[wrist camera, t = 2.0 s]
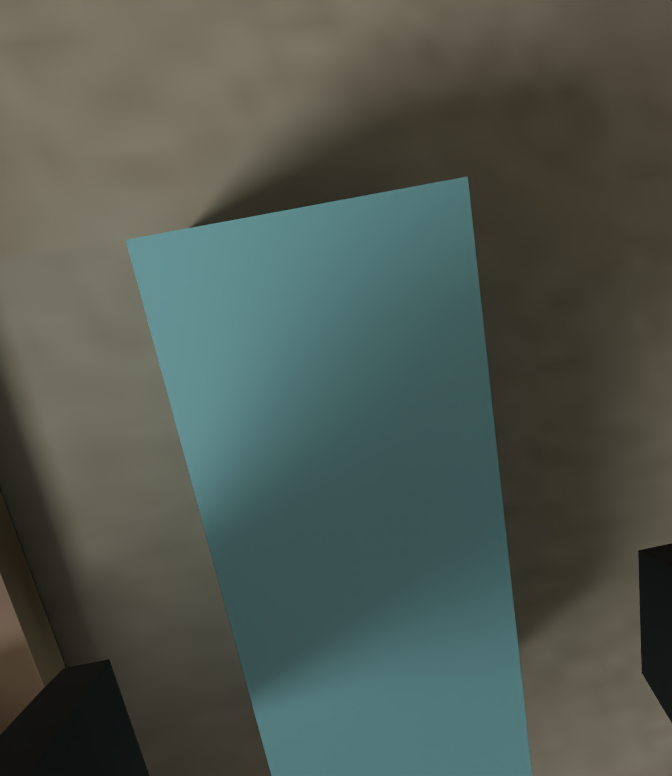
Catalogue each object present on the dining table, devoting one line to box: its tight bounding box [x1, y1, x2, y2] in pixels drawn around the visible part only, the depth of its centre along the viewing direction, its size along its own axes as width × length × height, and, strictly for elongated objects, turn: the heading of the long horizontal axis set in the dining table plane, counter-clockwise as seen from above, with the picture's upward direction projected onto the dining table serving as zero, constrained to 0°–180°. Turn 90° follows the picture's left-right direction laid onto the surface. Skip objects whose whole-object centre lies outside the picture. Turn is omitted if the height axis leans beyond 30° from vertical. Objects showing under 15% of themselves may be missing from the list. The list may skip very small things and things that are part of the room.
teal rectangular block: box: [126, 176, 532, 776], centre depth 11 cm, size 12×4×5 cm, turn 10°
